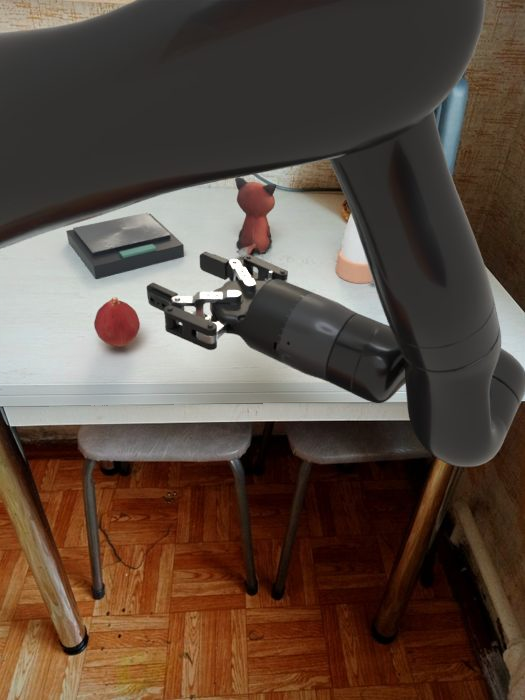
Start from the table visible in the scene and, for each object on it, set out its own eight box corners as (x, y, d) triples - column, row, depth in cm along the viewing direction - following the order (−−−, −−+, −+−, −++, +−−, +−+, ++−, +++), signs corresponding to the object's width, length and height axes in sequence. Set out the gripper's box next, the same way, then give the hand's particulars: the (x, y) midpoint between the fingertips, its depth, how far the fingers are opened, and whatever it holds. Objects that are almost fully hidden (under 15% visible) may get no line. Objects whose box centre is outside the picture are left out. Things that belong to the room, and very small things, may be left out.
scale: (95, 279, 83) (92, 262, 81) (68, 242, 92) (65, 226, 90) (184, 256, 90) (183, 240, 88) (151, 224, 99) (149, 209, 97)
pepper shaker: (361, 259, 93) (383, 153, 81) (385, 279, 88) (412, 169, 76) (327, 266, 91) (345, 157, 79) (350, 286, 86) (372, 174, 74)
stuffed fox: (222, 260, 90) (223, 195, 83) (237, 232, 99) (238, 171, 91) (264, 266, 89) (268, 201, 82) (275, 238, 98) (280, 176, 90)
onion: (89, 351, 69) (80, 302, 64) (114, 328, 73) (107, 281, 68) (126, 363, 68) (119, 314, 63) (149, 339, 72) (144, 292, 67)
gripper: (341, 267, 52) (216, 221, 58) (263, 335, 42) (124, 271, 49) (331, 326, 57) (216, 277, 63) (259, 398, 47) (133, 333, 54)
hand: (176, 275), depth 56 cm, fingers open, 8 cm apart
